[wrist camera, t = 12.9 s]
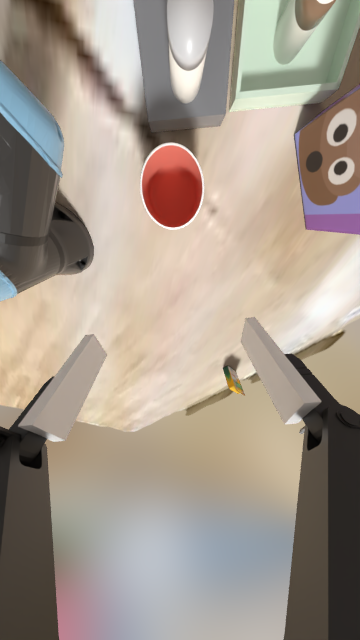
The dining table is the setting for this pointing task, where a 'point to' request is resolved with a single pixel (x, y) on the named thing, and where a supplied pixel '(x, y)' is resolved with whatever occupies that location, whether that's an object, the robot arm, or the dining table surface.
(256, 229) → the dining table surface
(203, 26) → the fuse holder block
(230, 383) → the crayon box
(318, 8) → the cylinder
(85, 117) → the dining table surface
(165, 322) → the dining table surface
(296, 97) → the parts tray
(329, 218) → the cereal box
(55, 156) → the robot arm
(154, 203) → the cup
